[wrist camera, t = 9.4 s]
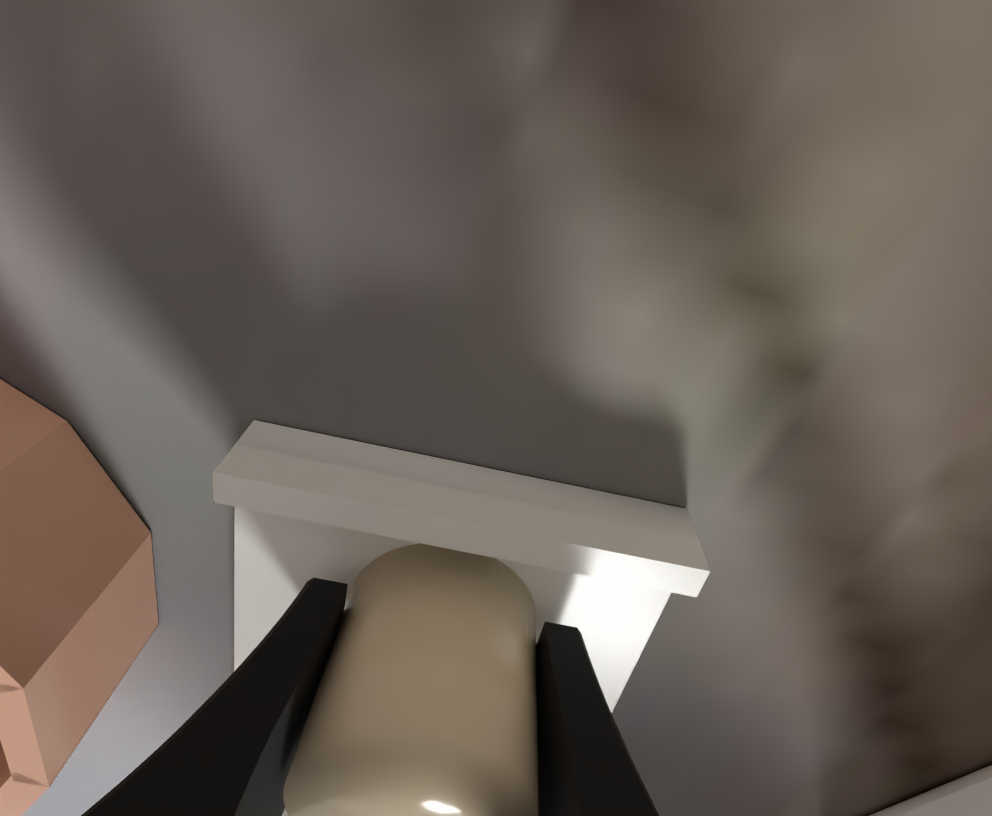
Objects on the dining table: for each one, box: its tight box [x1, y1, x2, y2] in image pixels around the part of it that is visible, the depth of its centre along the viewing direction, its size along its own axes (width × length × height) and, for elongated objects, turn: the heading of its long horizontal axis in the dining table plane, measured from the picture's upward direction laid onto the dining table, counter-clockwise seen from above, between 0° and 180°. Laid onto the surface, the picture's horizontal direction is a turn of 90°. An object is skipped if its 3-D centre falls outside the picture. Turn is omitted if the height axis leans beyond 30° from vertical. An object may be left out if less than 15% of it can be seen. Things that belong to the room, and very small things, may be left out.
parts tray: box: [213, 420, 710, 816], centre depth 13 cm, size 12×8×2 cm, turn 169°
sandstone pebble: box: [283, 543, 538, 816], centre depth 10 cm, size 4×4×4 cm
